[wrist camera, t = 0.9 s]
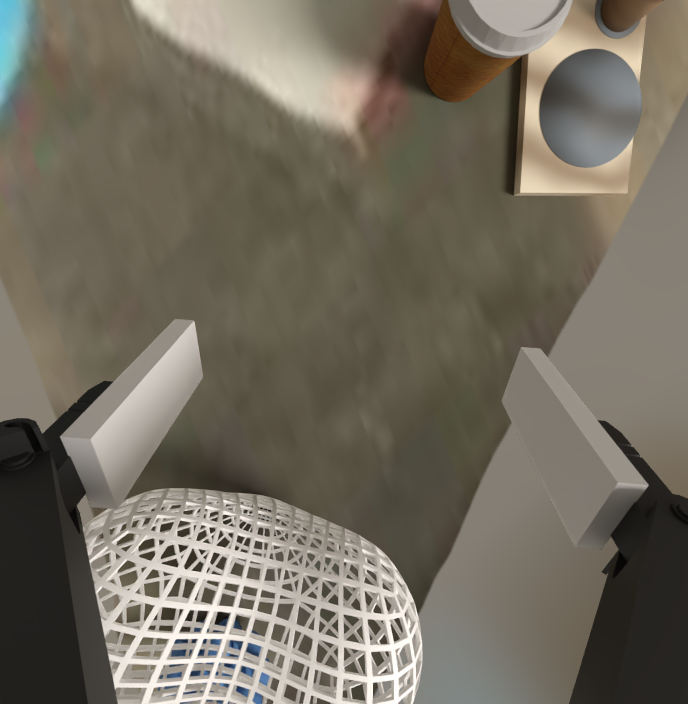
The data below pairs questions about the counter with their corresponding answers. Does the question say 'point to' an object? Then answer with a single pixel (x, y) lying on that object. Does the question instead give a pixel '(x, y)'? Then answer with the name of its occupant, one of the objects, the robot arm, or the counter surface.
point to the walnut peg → (625, 12)
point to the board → (579, 108)
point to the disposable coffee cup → (486, 41)
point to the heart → (149, 700)
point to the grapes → (234, 644)
